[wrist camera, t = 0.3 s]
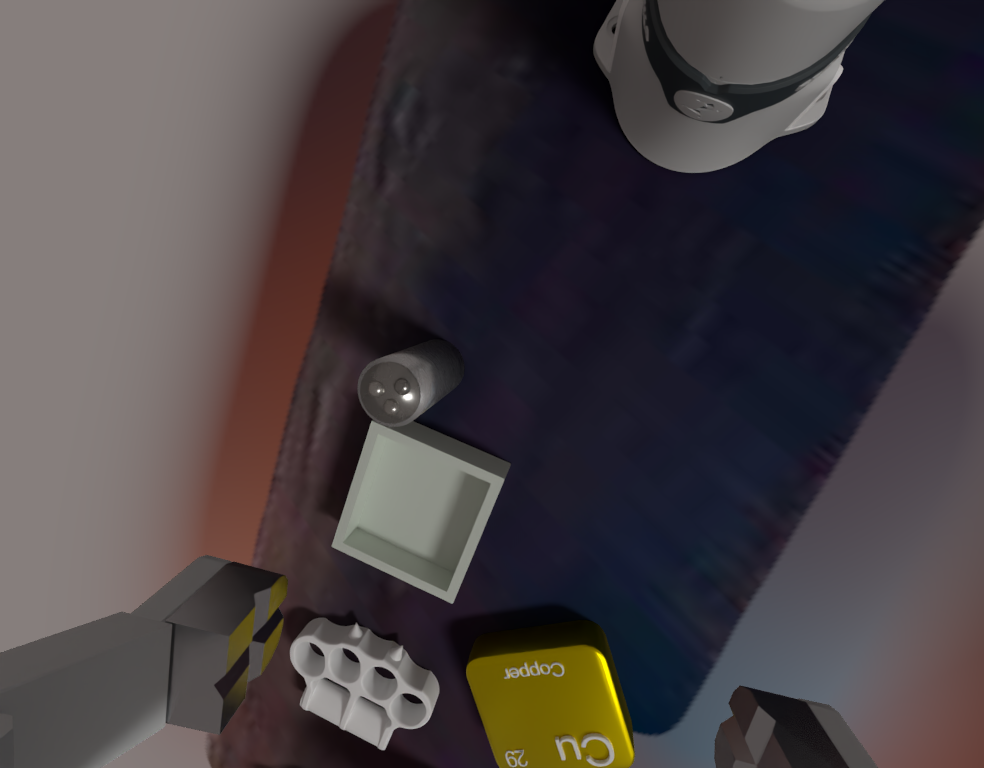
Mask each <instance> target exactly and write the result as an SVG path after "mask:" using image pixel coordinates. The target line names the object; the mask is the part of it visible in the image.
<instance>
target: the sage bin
mask: <svg viewBox="0 0 984 768" xmlns="http://www.w3.org/2000/svg"><path fill="white" fill-rule="evenodd" d="M510 465H511V463H509V462H506V461H504V460H502V459H499V458H497V457H495V456H492V455H490V454H488V453H485V452H483V451H481V450H479V449H476V448H474V447H472V446H469V445H467V444H465V443H462V442H460V441H458V440H455V439H453V438H451V437H449V436H446V435H444V434H442V433H439V432H437V431H435V430H432V429H430V428H428V427H425V426H423V425H421V424H419V423H416V422H414V421H412V422H410V423H408V424H406V425H404V426H399V427H389V426H385V425H382V424H380V423H378V422H376V421H375V420H372V421H371V424H370V428H369V431H368V434H367V437H366V440H365V443H364V446H363V450H362V453H361V456H360V459H359V462H358V465H357V468H356V472H355V475H354V478H353V481H352V484H351V487H350V490H349V494H348V497H347V500H346V503H345V506H344V509H343V512H342V515H341V519H340V522H339V525H338V528H337V531H336V534H335V537H334V541H333V544H332V547H333V548H335V549H338V550H340V551H342V552H344V553H346V554H348V555H350V556H352V557H355V558H357V559H359V560H361V561H363V562H365V563H367V564H369V565H371V566H374V567H376V568H378V569H380V570H382V571H384V572H386V573H388V574H390V575H393V576H395V577H397V578H399V579H401V580H403V581H405V582H407V583H409V584H412V585H414V586H416V587H418V588H420V589H422V590H424V591H426V592H428V593H431V594H433V595H435V596H437V597H439V598H441V599H443V600H445V601H447V602H450V603H452V604H453V602H454V600H455V597H456V595H457V593H458V590H459V588H460V585H461V583H462V581H463V578H464V576H465V574H466V571H467V569H468V566H469V564H470V561H471V559H472V557H473V554H474V552H475V549H476V547H477V545H478V542H479V540H480V537H481V535H482V533H483V530H484V528H485V525H486V523H487V520H488V518H489V516H490V513H491V511H492V508H493V506H494V504H495V501H496V499H497V496H498V494H499V492H500V489H501V487H502V484H503V482H504V480H505V477H506V475H507V472H508V470H509V467H510Z"/></svg>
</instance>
